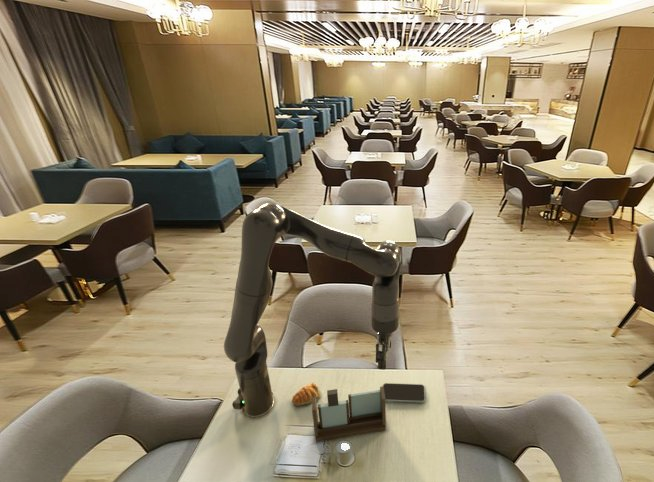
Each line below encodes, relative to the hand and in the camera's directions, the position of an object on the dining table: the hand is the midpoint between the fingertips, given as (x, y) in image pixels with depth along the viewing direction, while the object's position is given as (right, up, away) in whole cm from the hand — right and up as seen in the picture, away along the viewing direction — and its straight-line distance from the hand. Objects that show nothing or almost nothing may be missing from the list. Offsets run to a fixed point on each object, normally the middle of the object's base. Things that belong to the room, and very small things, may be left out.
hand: (384, 357), depth 102 cm
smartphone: (+6, -21, +23) cm, 32 cm away
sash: (-16, -25, +9) cm, 31 cm away
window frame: (-11, -26, +11) cm, 31 cm away
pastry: (-28, -21, +21) cm, 41 cm away
